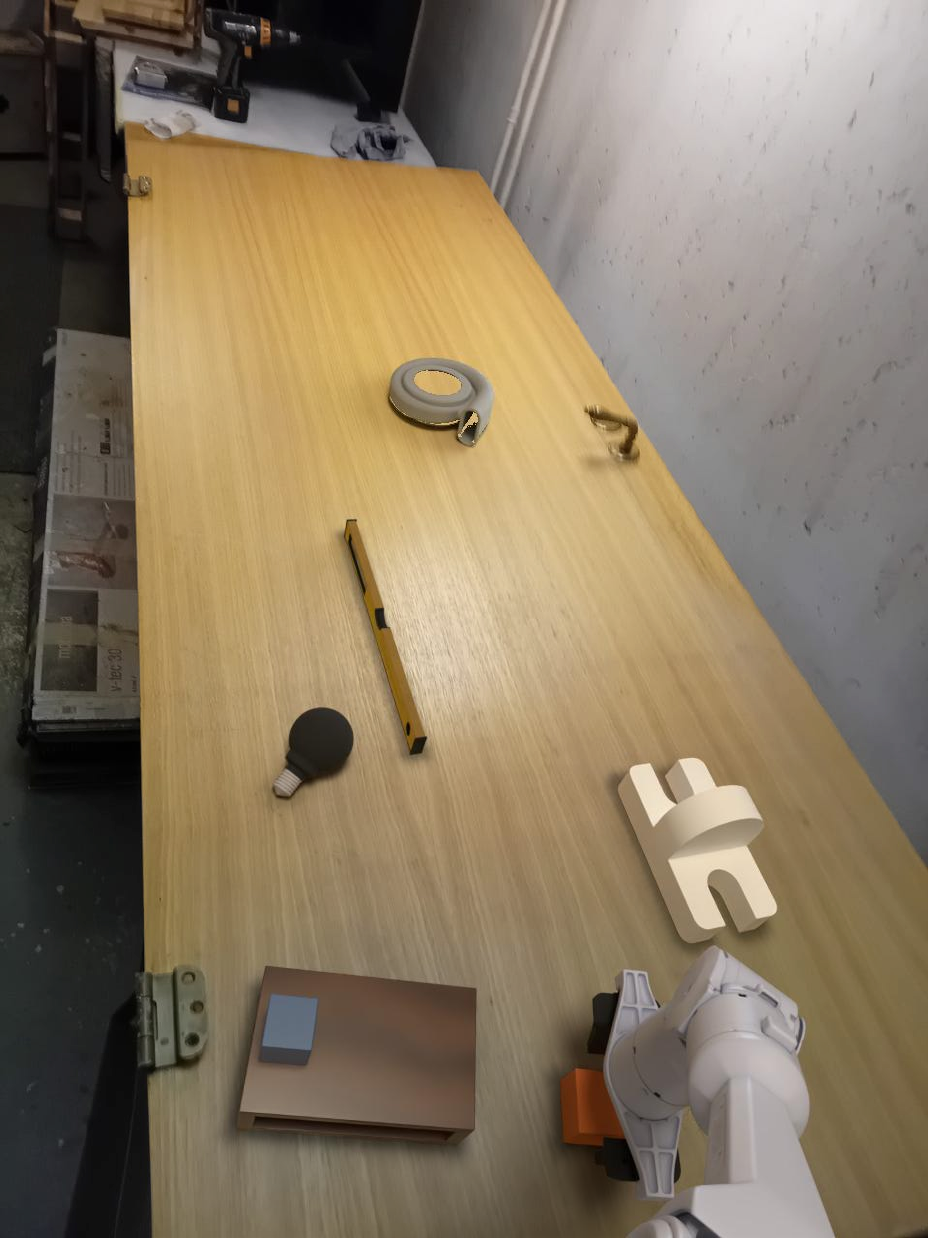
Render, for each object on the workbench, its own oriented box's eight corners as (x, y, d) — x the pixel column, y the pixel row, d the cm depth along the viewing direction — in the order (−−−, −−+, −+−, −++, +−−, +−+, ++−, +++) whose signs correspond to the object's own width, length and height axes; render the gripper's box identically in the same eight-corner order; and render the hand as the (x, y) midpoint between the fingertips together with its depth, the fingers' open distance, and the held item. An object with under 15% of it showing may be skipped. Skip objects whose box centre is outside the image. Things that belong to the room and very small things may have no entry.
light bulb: (249, 771, 76) (317, 688, 80) (252, 778, 82) (315, 701, 86) (304, 813, 76) (369, 728, 80) (302, 817, 82) (363, 738, 86)
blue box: (306, 1066, 60) (311, 1051, 57) (258, 1061, 59) (261, 1046, 56) (313, 1015, 62) (319, 998, 59) (267, 1010, 62) (270, 993, 59)
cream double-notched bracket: (687, 773, 94) (731, 720, 86) (763, 927, 83) (821, 882, 75) (614, 783, 90) (652, 729, 83) (683, 945, 79) (735, 900, 72)
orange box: (615, 1147, 67) (634, 1137, 64) (562, 1143, 66) (579, 1133, 63) (610, 1085, 70) (627, 1073, 67) (559, 1080, 69) (575, 1068, 66)
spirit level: (421, 753, 87) (427, 737, 85) (410, 754, 87) (415, 739, 85) (353, 535, 107) (356, 518, 105) (343, 536, 106) (346, 519, 104)
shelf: (456, 1146, 64) (474, 1130, 60) (236, 1129, 61) (238, 1112, 57) (460, 1010, 71) (476, 987, 66) (261, 990, 68) (265, 965, 64)
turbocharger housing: (412, 375, 137) (372, 415, 127) (416, 339, 133) (375, 378, 123) (504, 409, 135) (471, 453, 125) (513, 373, 130) (479, 416, 120)
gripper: (749, 1191, 51) (662, 1218, 61) (708, 955, 61) (638, 1011, 71) (643, 1184, 50) (571, 1212, 60) (618, 945, 60) (560, 1003, 70)
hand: (602, 1103), depth 65 cm, fingers open, 7 cm apart
